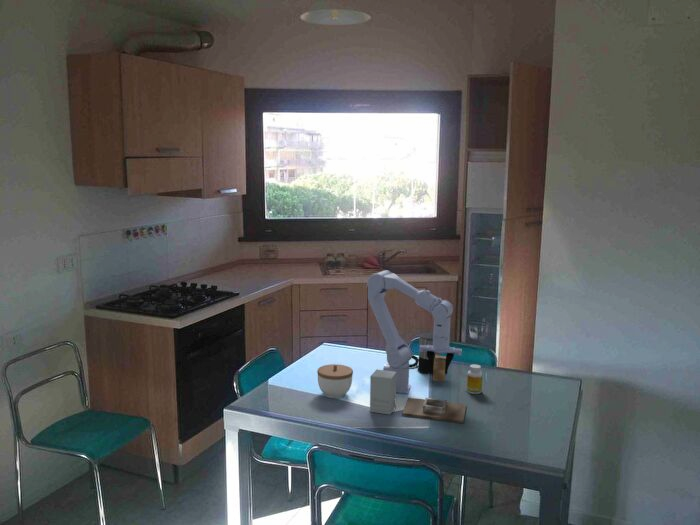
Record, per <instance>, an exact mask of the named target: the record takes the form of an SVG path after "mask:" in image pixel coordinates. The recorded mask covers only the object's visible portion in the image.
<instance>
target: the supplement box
mask: <svg viewBox="0 0 700 525" xmlns="http://www.w3.org/2000/svg"><path fill="white" fill-rule="evenodd" d="M369 382H370V388H369V389H370V390H369V392H370V393H369V394H370V395H369V412H371V413H377V414H382V415H383V414H385V415H391V414H392V413H393V412H394V410H395V409H396V407H397V406H396V405H397V404H396V403H397V392H396V372H393V371H385V370H383V369H375V371H373V373H371V375H370V381H369ZM394 408H395V409H394Z"/></svg>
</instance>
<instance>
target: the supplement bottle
mask: <svg viewBox="0 0 700 525" xmlns="http://www.w3.org/2000/svg"><path fill="white" fill-rule="evenodd" d="M466 376H467V377H466V392H467V393H469V394H472V395H473V394H474V395H477V394H478V395H479V394H481V393H482V389H483V386H482V385H483V372H482V367H481V365H479V364H470V365H469V370H468V371H467V375H466Z"/></svg>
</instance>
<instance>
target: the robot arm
mask: <svg viewBox="0 0 700 525" xmlns="http://www.w3.org/2000/svg"><path fill="white" fill-rule="evenodd" d="M366 285H367V300H368V303H369V305H370V308H371V310H372V312H373V314H374V317H375V319H376V322H377V323H378V327H379V329H380V331H381V334H382V337H383V338H384V340H385V343H386V345H385V353H386V361H387V364H384V365H383V368H382V370H385V371H393V372H396V393H397V394H398V393H399V394H409V391H410V389H411V387H412V385H411V384H409V381H410V380H409V378H410V367H409V365H410V361H411V360H412V355H413V351H412V349H411V348H410V347H409V346H408V344H407V343H406V340H404V339H403V338H401V336H400V334H399V331H398V330H397V327H396V325H395V322H394V320H393V318H392V316H391V313H390V311H389V309H388V306H387V303H386V301H385V296H386V294H387V291H388V290H397V291H399V293H402V294H405V295H406V296H408V297H410V298H412V299H414V301H415V302H414V303H415V304H416V305H417V306H419V307H421V308H422V309H424V310H426V311H428V312H429V313H430V314H431V316H432V317H433V329H432V330H433V332H432V333H433V345H420V352H423V351H424V352H427V357H428V360H429V362H430V365H431V370H432V373H433V368H434V357H435V353H441V354H446V355H445V356H446V368H445V374H446V375H448V371H449V367H450V364H452V361H453V359H454V358H455V357H454V356H455V355H457V356H462V354H463V353H462V352H463V349H462V348H457V347H454V346H453V347H452V346H450V338H451V337H450V336H451V334H450V333H451V315H452V314H453V312H454V306H453V303H451V302H450V301H449V299H448V300H447V299H443V298H441V297H438V296H436V295H434V294H432V293H431V291H430V290H428V289H427V290H426V289H422V290H419V289H417V288H416V287H414V286H413V285H411V284H410V283H408V282H407V281H405V280H403V278H401V277H399V276H398V275H397V274H396V273H393V272H392V271H390V270H387V269H384V270H382V271H379V272H376V273H372V274H371V275H370V276H369V278H368V279H367V281H366Z"/></svg>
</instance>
